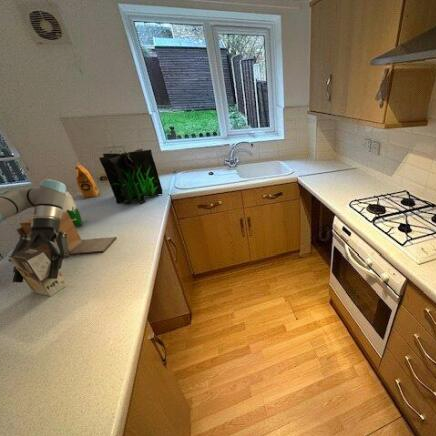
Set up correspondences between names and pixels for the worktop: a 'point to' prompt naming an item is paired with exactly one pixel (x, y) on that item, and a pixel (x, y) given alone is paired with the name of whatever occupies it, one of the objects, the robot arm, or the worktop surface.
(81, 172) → the coffee package
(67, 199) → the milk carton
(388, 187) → the worktop surface
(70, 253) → the rack
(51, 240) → the robot arm
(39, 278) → the coffee box
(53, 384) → the worktop surface
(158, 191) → the decorative plant
